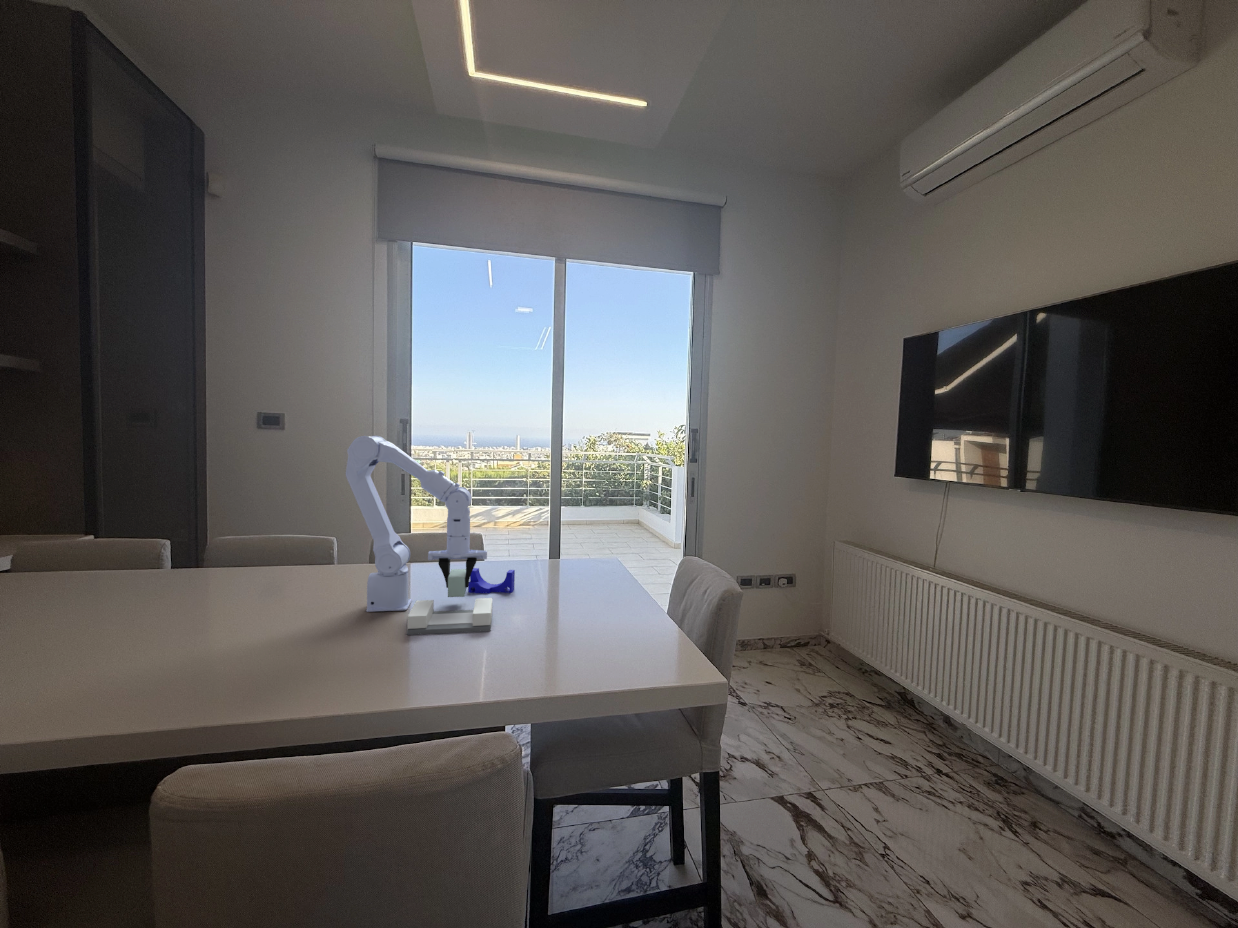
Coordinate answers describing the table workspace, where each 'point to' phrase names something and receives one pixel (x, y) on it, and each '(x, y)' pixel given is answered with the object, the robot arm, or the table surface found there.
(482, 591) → the blue cradle bracket
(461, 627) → the white and grey fixture
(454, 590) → the block
